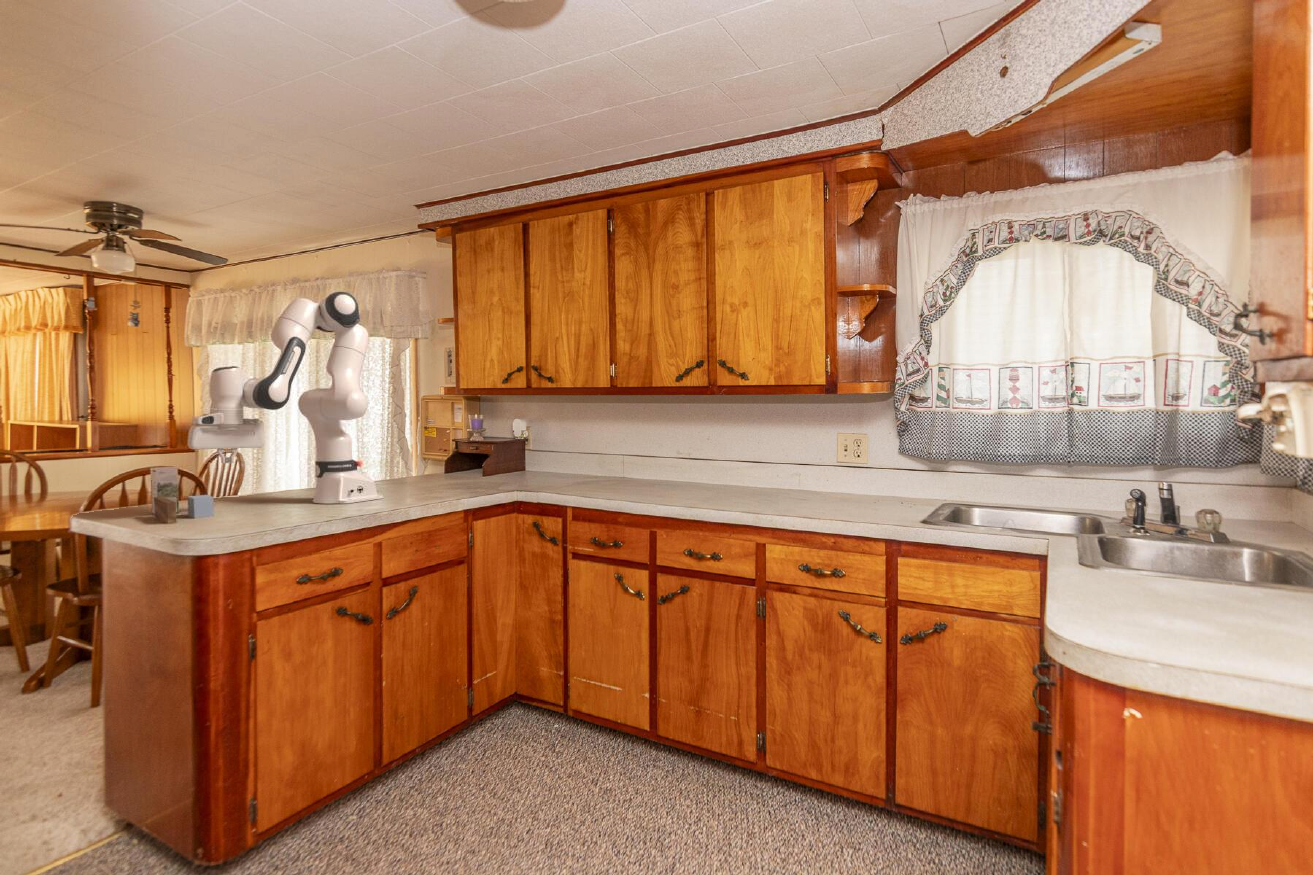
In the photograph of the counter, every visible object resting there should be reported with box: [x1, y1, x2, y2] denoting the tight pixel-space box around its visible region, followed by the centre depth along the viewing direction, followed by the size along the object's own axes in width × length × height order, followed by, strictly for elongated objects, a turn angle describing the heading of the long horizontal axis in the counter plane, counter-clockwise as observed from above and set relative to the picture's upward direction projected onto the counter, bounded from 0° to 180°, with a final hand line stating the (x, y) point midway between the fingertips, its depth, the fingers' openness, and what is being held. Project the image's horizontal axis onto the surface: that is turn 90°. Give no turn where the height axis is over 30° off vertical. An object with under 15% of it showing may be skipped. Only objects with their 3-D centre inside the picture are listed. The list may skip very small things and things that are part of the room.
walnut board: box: [154, 497, 178, 525], centre depth 201 cm, size 2×16×6 cm, turn 47°
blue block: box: [187, 494, 215, 519], centre depth 207 cm, size 5×7×6 cm
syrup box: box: [149, 465, 180, 515], centre depth 212 cm, size 6×6×14 cm
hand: (227, 463), depth 212 cm, fingers closed
